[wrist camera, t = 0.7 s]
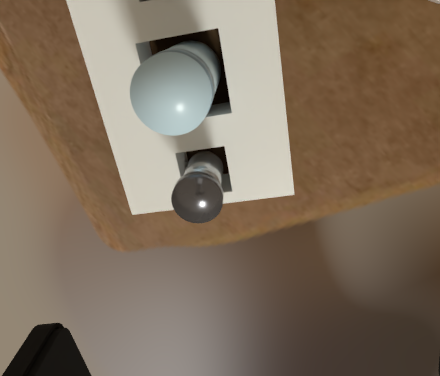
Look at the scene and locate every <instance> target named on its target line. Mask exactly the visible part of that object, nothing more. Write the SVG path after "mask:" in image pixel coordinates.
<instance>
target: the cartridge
mask: <svg viewBox="0 0 440 376" xmlns="http://www.w3.org/2000/svg"><path fill="white" fill-rule="evenodd" d="M220 78H221V65H220V61H219V59H218V57H217V55H216V53H215V52H214V51H213V50H212V49H211V48H210V47H209V46H208V45H206V44H204V43H202V42H199V41H195V40H188V41H183V42H180V43H178V44H176V45H174V46H172V47H170V48H168V49H166V50H163V51H161V52H158V53H156V54H154V55H153V56H151V57H149V58H148V59H147V60H145V61H144V62H143V63H142V64H141V65H140V66H139V67H138V68H137V70H136V71H135V73H134V75H133V77H132V80H131V85H130V99H131V104H132V107H133V109H134V111H135V113H136V115H137V116H138V118H139V119H140V120H141V121H142V122H143V123H144V124H145V125H146V126H147V127H148V128H150V129H151V130H153V131H155V132H157V133H160V134H163V135H171V136H175V135H182V134H185V133H188V132H190V131H192V130H194V129H195V128H196V127H198V126H199V125H200V124H201V122H202V121H203V120H204V118H205V117H206V115H207V113H208V112H209V109H210V107H211V104H212V102H213V98H214V95H215V92H216V89H217V87H218V84H219V81H220Z"/></svg>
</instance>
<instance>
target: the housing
mask: <svg viewBox="0 0 440 376" xmlns="http://www.w3.org/2000/svg"><path fill="white" fill-rule="evenodd" d="M66 1H67V4H68V8H69V11H70V14H71V17H72V21H73V24H74V27H75V30H76V34H77V37H78V40H79V43H80V47H81V50H82V53H83V56H84V60H85V63H86V66H87V69H88V73H89V76H90V79H91V82H92V86H93V89H94V92H95V95H96V99H97V102H98V105H99V108H100V112H101V115H102V118H103V121H104V125H105V128H106V131H107V134H108V138H109V141H110V144H111V147H112V151H113V154H114V157H115V160H116V164H117V167H118V170H119V173H120V177H121V180H122V183H123V186H124V190H125V193H126V196H127V199H128V203H129V206H130V209H131V212H132V215H135V214H143V213H151V212H159V211H167V210H174V208H173V206H172V202H171V196H172V192H173V189H174V187H175V184H176V183H177V181H178V180H179V179H180V178H181V177H182V176H183V175H184V173H185V170H186V167H187V165H188V159H187V154H186V152H187V151H194V150H201V149H208V148H215V147H222V146H224V147H225V152H226V158H227V164H228V169H229V173H228V174H223V175H222V182H221V186H222V189H223V194H224V196H223V203H232V202H240V201H248V200H256V199H264V198H272V197H280V196H288V195H294V186H293V176H292V166H291V157H290V147H289V137H288V127H287V117H286V107H285V98H284V88H283V78H282V68H281V58H280V48H279V38H278V29H277V19H276V9H275V0H66ZM216 28H218V30H219V36H220V42H221V49H222V55H223V61H224V67H225V73H226V79H227V86H228V92H229V98H230V102H227V103H221V104H214V105H211V107H210V109H209V112H208V113H207V115H206V117H205V118H204V120H203V121H202V122H201V124H200V125H199V126H198V127H196V128H195V129H194V130H192V131H190V132H188V133H185V134H182V135H175V136H171V135H163V134H160V133H157V132H155V131H153V130H151V129H150V128H148V127H147V126H146V125H145V124H144V123H143V122H142V121H141V120H140V119H139V118H138V116H137V115H136V113H135V111H134V109H133V107H132V104H131V99H130V85H131V80H132V77H133V75H134V73H135V71H136V70H137V68H138V67H139V66H140V65H141V64H142V63H143V62H144V61H145V60H147V59H148V58H149V57H151V56H152V52H151V48H150V44H149V41H152V40H157V39H163V38H168V37H173V36H179V35H184V34H189V33H195V32H200V31H206V30H211V29H216Z"/></svg>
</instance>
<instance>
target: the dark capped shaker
mask: <svg viewBox="0 0 440 376" xmlns="http://www.w3.org/2000/svg"><path fill="white" fill-rule="evenodd" d="M222 175H223V163H222V161H221V159H220V158H219V157H218V156H217V155H216V154H214V153H212V152H208V151H201V152H198V153H196V154H194V155H193V156H192V157H191V158H190V160H189V162H188V165H187V167H186V170H185V173H184V175H183V176H182V177H181V178H180V179H179V180H178V181H177V183H176V184H175V187H174V189H173V192H172V196H171V202H172V206H173V208H174V210H175V212H176V213H177V214H178V215H179V216H180V217H181V218H183V219H184V220H186V221H189V222H192V223H205V222H208V221H210V220H212V219H214V218H215V217H216V216H217V215H218V214H219V213H220V211H221V208H222V204H223V196H224V194H223V189H222V186H221V182H222Z"/></svg>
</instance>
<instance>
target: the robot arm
mask: <svg viewBox="0 0 440 376" xmlns="http://www.w3.org/2000/svg"><path fill="white" fill-rule="evenodd" d="M439 375H440V358H439ZM2 376H91V374H90V372H89V370H88V368H87V366H86V364H85V362H84V360H83V358H82V356H81V354H80V351H79V349H78V348H77V345H76V343H75V341H74V339H73V337H72V335H71V333H70V331H69V330H68V329H67V328H64V327H63V326H62V324H60V323H52V324H42V325H37V326H35V327H34V328H33V330H32V331H31V332H30V334H29V335H28V337H27V339H26V340H25V342H24V343H23V345H22V346H21V348H20V349H19V351H18V352H17V354H16V355H15V357H14V358H13V360H12V361H11V363H10V364H9V366H8V367H7V369H6V371H5V372H4V373H3V375H2Z"/></svg>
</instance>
